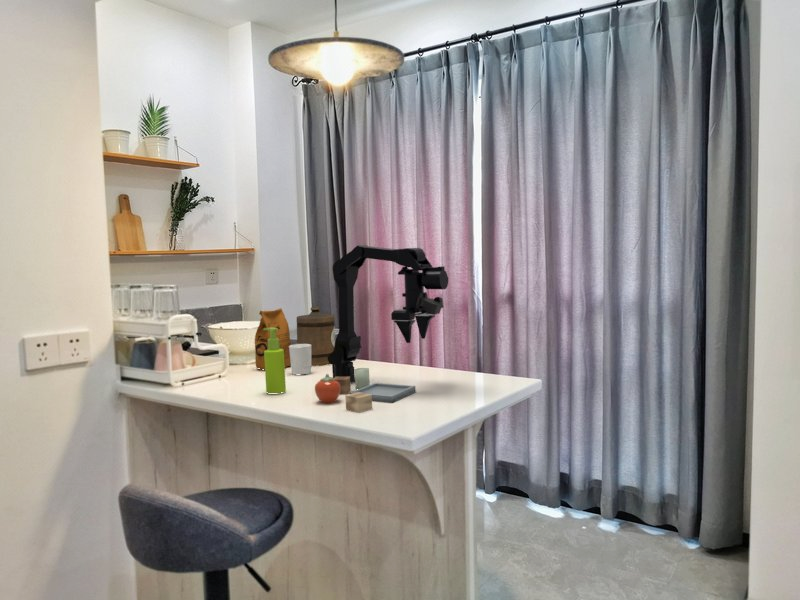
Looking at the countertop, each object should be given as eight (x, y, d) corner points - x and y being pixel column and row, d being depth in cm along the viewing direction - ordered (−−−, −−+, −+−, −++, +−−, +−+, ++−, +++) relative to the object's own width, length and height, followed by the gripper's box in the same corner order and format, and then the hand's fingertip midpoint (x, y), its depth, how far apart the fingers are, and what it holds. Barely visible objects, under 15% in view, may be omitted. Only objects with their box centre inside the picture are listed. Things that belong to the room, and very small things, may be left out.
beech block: (346, 410, 170) (345, 395, 170) (359, 406, 174) (359, 392, 174) (358, 413, 167) (357, 398, 166) (372, 409, 170) (371, 394, 170)
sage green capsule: (352, 389, 195) (351, 370, 194) (360, 386, 199) (359, 367, 198) (364, 390, 193) (364, 371, 192) (372, 387, 197) (371, 368, 196)
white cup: (317, 372, 225) (315, 344, 224) (302, 376, 218) (301, 347, 218) (300, 370, 229) (299, 343, 228) (285, 374, 223) (284, 346, 222)
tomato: (343, 403, 178) (342, 375, 177) (317, 405, 176) (316, 377, 175) (338, 397, 185) (337, 370, 184) (313, 400, 183) (312, 372, 182)
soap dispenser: (277, 389, 199) (273, 326, 198) (289, 392, 195) (286, 327, 193) (260, 392, 195) (257, 328, 194) (273, 395, 190) (269, 329, 189)
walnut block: (332, 394, 189) (331, 379, 189) (336, 391, 194) (335, 376, 193) (347, 394, 189) (346, 379, 188) (350, 391, 193) (350, 376, 193)
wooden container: (343, 362, 243) (341, 305, 241) (309, 367, 235) (306, 308, 233) (325, 357, 255) (322, 303, 254) (291, 362, 247) (288, 306, 245)
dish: (350, 398, 183) (349, 392, 182) (375, 388, 195) (375, 382, 195) (392, 402, 176) (391, 396, 176) (415, 392, 188) (415, 386, 188)
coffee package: (251, 369, 235) (248, 310, 233) (277, 364, 244) (274, 307, 243) (269, 372, 228) (266, 311, 227) (295, 366, 238) (292, 308, 237)
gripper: (422, 292, 179) (424, 346, 180) (451, 287, 195) (453, 337, 196) (389, 291, 185) (391, 344, 186) (420, 287, 201) (421, 336, 202)
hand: (416, 340), depth 192 cm, fingers open, 9 cm apart
